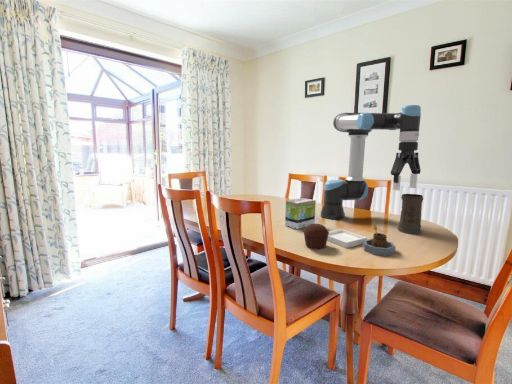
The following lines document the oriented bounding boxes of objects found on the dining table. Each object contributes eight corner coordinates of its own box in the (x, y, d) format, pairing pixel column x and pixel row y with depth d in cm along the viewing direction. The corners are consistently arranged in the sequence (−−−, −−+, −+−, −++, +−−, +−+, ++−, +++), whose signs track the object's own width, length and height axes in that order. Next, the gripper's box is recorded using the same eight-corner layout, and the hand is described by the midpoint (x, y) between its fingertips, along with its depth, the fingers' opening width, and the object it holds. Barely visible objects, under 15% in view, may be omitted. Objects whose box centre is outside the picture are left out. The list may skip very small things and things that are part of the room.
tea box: (298, 229, 150) (298, 203, 148) (284, 225, 157) (285, 200, 155) (315, 224, 160) (316, 199, 157) (301, 221, 167) (302, 197, 165)
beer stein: (424, 235, 140) (427, 195, 138) (401, 233, 142) (404, 195, 140) (413, 228, 155) (416, 193, 153) (393, 227, 157) (395, 192, 155)
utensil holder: (379, 253, 116) (381, 226, 114) (367, 248, 121) (369, 222, 119) (389, 251, 118) (391, 224, 116) (377, 246, 124) (379, 220, 122)
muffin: (313, 240, 133) (314, 219, 132) (333, 246, 125) (334, 224, 123) (297, 245, 125) (298, 224, 124) (317, 252, 117) (318, 230, 116)
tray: (320, 238, 136) (320, 233, 136) (340, 233, 143) (340, 228, 143) (346, 248, 122) (346, 242, 122) (367, 242, 129) (367, 237, 129)
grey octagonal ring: (357, 248, 122) (358, 242, 121) (375, 243, 128) (375, 237, 127) (382, 257, 112) (382, 250, 111) (400, 252, 118) (400, 245, 117)
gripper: (400, 140, 113) (397, 192, 116) (431, 141, 126) (427, 187, 129) (383, 141, 119) (380, 190, 122) (414, 142, 132) (411, 186, 136)
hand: (404, 189), depth 126 cm, fingers open, 13 cm apart
